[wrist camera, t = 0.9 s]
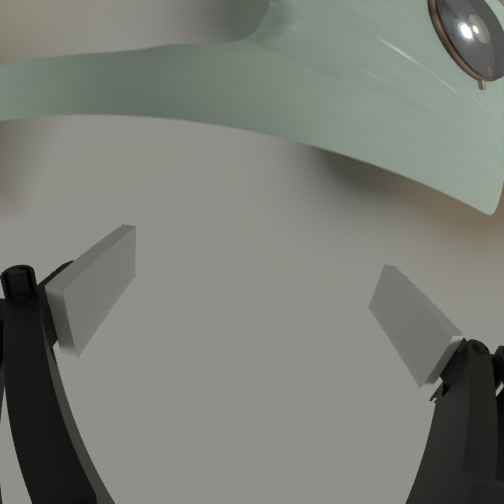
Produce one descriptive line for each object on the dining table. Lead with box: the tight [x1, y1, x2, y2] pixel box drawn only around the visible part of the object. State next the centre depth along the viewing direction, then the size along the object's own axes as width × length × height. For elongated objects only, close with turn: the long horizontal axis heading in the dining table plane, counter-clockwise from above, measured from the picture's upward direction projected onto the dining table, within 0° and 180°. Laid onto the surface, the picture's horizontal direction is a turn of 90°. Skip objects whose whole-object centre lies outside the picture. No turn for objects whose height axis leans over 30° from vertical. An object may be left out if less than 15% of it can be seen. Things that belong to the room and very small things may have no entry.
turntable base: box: [428, 0, 497, 90], centre depth 24 cm, size 23×21×2 cm
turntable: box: [435, 0, 504, 79], centre depth 22 cm, size 20×20×2 cm
